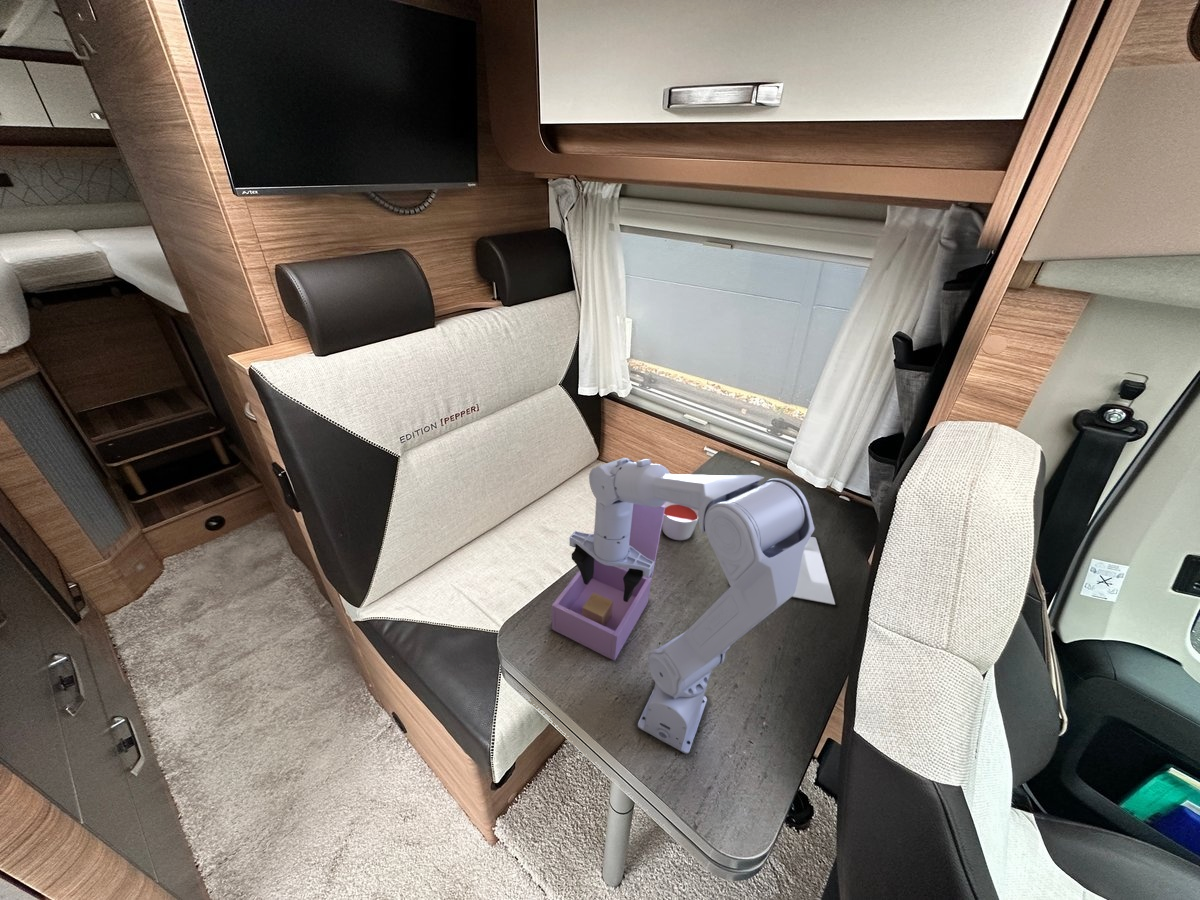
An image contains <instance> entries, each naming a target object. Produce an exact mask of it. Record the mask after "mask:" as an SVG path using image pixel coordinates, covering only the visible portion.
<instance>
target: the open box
mask: <svg viewBox="0 0 1200 900" xmlns="http://www.w3.org/2000/svg"><path fill="white" fill-rule="evenodd" d="M628 570H629V568H624V567H616V566H609V565H604V564H601V563H600V562H598V561H597V560H595V559H594V573H593V578H592V579H591V580H590V582H589V583H588V584H587V585H586V584H584V582H583V578H582V575H581V572H580V570H579V569H578V571H577V573H576V574H575V575H574V577H573V578H571V580H570V581H569V583H568V584H567V585H566V587H564V589H563V590H562V592H561V593H560V594H559V595H558V596H557V598H556V599H555V600H554V601H553V603H552V604H551V630H553V631H554V632H556V633H558V634H560V635H562V636H564V637H566V638H568V639H570V640H572V641H575V642H576V643H578V644H579V645H582V646H584V647H586V648H588V649H590V650H591V651H594V652H596V653H598V654H600V655H602V656H604V657H606V658H608V659H610V660H612V661H614V662H615V661H616V659H617V658H618V656H619V654H620V652H621V651H622V649H623V647H624V645H625V643H626V642H627V640H628V638H629V636H630V635H631V633H632V631H633V630H634V628H635V626H636V624H637V623H638V621H639V619H640V617H641V616H642V614H643V613H644V610H645V608H646V606H647V605H648V603H649V600H650V599H649V598H650V591H651V586H652V580H653V579H652V578H651V577H649V578H648V577H645V576H643V577H642V579H641V580H640V582H639V583H638V584H637V586H636V587H635V588H634V590H633V593H632V596H631V597H630V599H629V601H628V602H625V601H623V596H624V590H625V587H624V581H623V577H624V576H625V574H626V573H627V571H628ZM593 593H596V594H598V595H600V596H602V597H605V598H607V599H609V600H611V601H613V605H612V616H611V618H610V619H609V621H608V622H607V624H606V626H603V625H601V624H599V623H597V622H595V621H592V620H590V619H588V618H586V617H584V616H582V610H583V606H584V605H585V604H586V602H587V601H588V599H589V598H590V597H591V595H592V594H593Z"/></svg>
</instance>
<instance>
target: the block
mask: <svg viewBox="0 0 1200 900" xmlns="http://www.w3.org/2000/svg"><path fill="white" fill-rule="evenodd" d="M612 605H613V601H611V600H609V599H607V598H605V597H602V596H600V595H598V594H596V593H593V594H592V595H591V597H590V598H589V599H588V601H587V602H586V604H585V605H584V606H583V610H582V616H584V617H586V618H588V619H590V620H592V621H595V622H597V623H599V624H601V625H603V626H606V624H607V622H608V621H609V619H610V618H611V616H612Z"/></svg>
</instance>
